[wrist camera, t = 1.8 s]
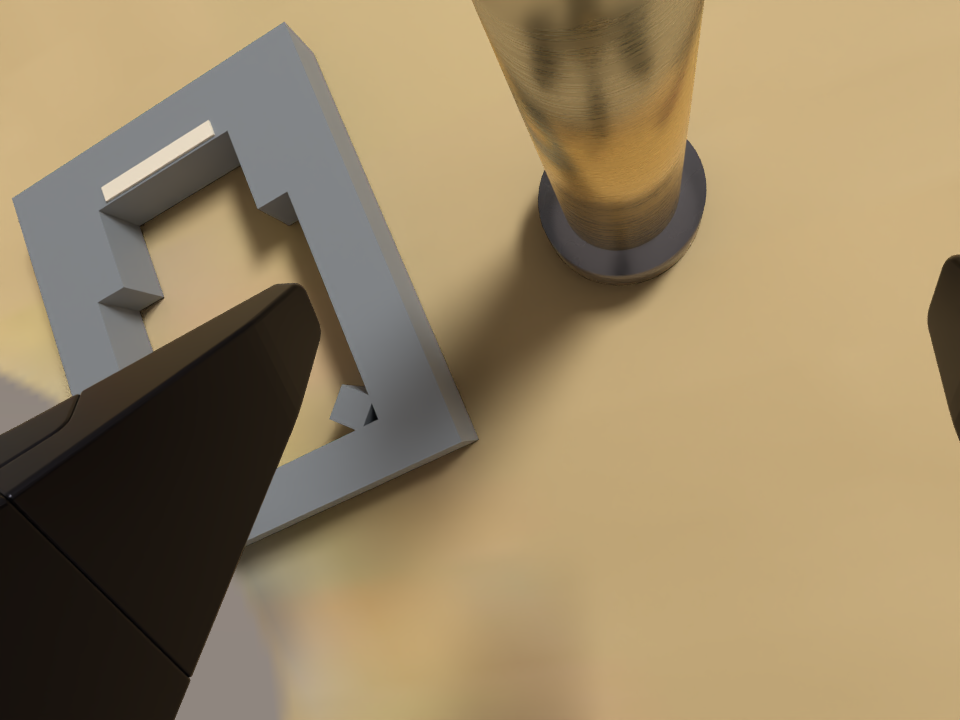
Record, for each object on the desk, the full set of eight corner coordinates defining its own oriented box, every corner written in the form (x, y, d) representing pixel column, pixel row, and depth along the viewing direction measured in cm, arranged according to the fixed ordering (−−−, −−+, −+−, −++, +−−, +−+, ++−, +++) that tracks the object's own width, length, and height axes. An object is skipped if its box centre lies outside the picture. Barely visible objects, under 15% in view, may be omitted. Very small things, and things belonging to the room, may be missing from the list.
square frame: (478, 439, 21) (461, 441, 19) (173, 579, 24) (130, 594, 22) (313, 52, 24) (282, 19, 22) (57, 214, 27) (9, 197, 25)
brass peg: (661, 309, 20) (676, 137, 8) (521, 251, 22) (343, 24, 9) (729, 164, 20) (857, -248, 8) (584, 115, 22) (490, -304, 9)
